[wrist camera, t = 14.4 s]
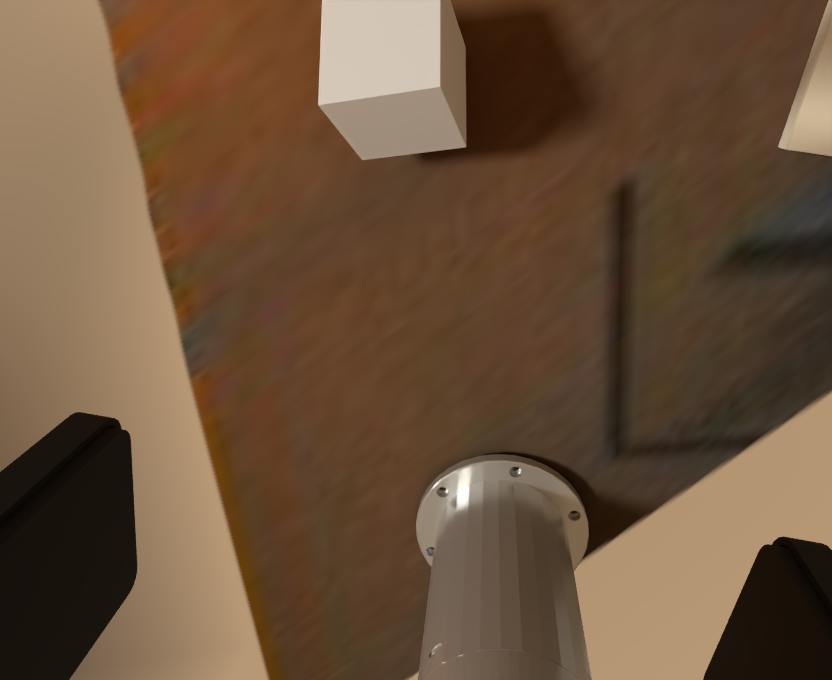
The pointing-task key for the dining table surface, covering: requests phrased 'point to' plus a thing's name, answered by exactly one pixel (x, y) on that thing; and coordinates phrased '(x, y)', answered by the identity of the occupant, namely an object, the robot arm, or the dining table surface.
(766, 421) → the dining table surface
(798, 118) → the serving tray
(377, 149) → the white cube
